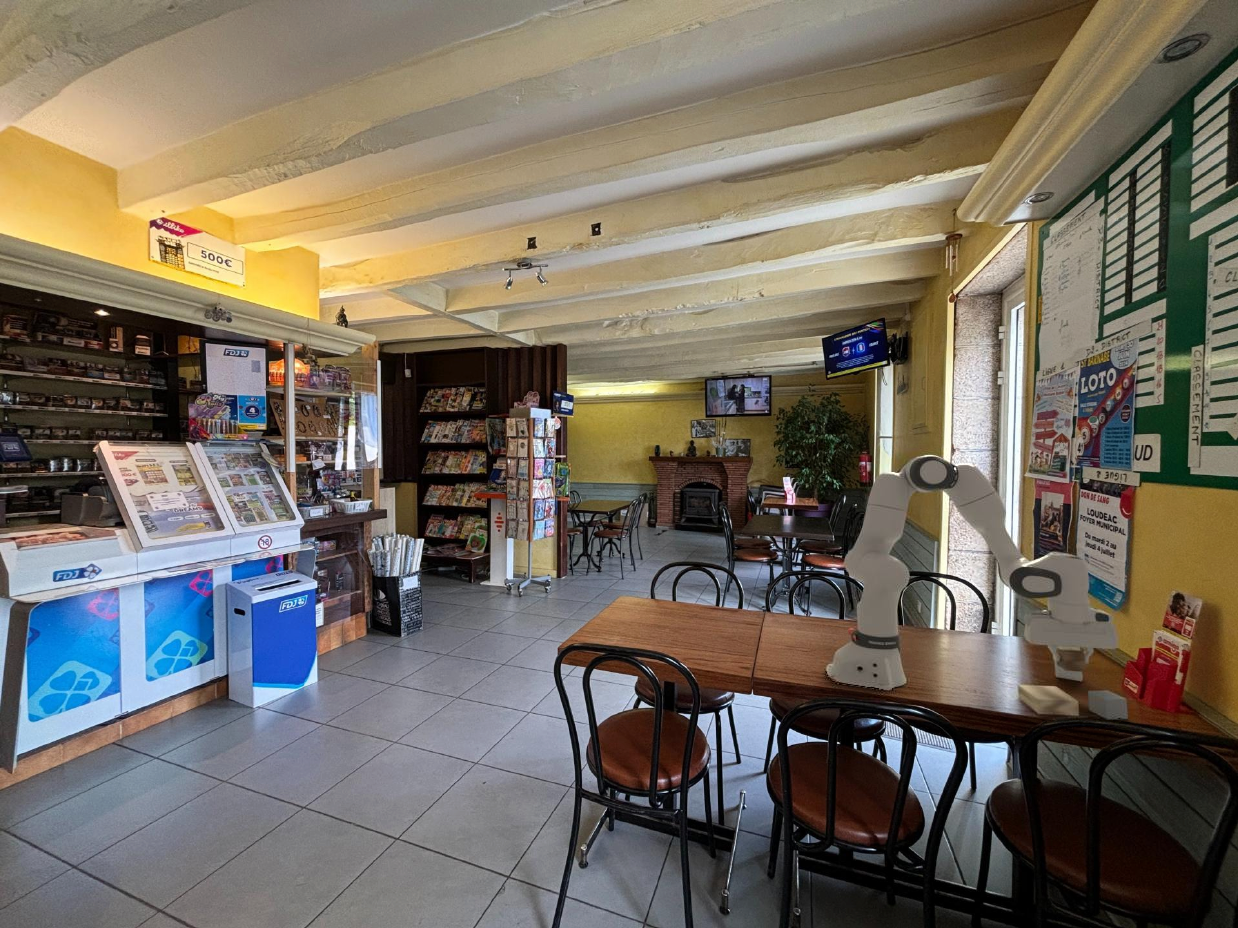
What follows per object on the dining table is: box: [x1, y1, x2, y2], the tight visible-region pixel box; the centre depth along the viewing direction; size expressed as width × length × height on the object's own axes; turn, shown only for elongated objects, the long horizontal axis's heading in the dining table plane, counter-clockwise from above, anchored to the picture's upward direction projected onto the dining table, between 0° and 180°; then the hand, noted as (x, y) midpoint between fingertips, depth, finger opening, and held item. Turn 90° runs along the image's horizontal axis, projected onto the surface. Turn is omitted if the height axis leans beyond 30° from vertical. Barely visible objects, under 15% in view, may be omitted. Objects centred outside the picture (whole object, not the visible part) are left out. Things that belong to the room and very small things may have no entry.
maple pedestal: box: [1017, 684, 1080, 717], centre depth 135 cm, size 9×9×4 cm
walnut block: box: [1056, 647, 1087, 673], centre depth 141 cm, size 4×4×5 cm
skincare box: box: [1054, 646, 1083, 682], centre depth 152 cm, size 6×4×12 cm
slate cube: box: [1087, 689, 1129, 720], centre depth 129 cm, size 5×5×5 cm
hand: (1070, 661), depth 141 cm, fingers closed on walnut block, 4 cm apart
